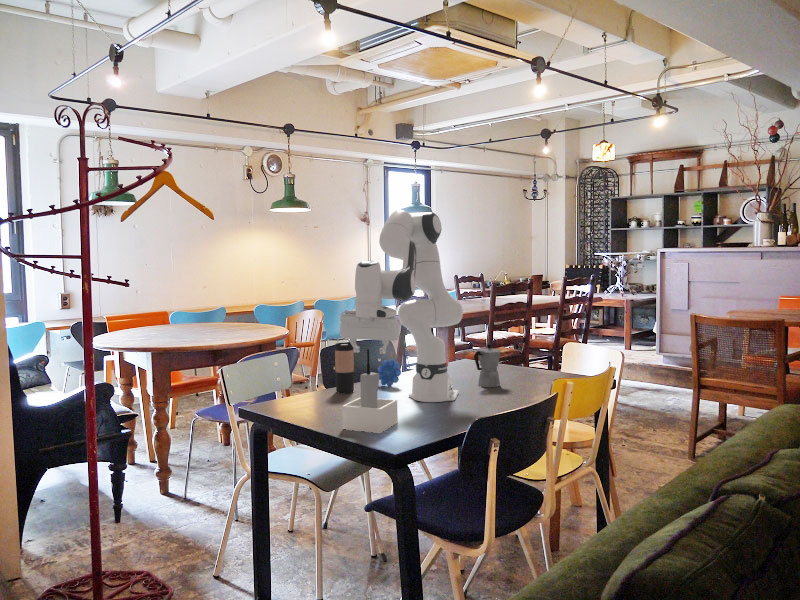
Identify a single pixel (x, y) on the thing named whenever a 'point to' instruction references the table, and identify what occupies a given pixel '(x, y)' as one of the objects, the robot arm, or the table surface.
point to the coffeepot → (488, 366)
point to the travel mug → (344, 367)
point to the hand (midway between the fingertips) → (369, 353)
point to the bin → (369, 416)
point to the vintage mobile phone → (369, 387)
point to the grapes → (389, 372)
